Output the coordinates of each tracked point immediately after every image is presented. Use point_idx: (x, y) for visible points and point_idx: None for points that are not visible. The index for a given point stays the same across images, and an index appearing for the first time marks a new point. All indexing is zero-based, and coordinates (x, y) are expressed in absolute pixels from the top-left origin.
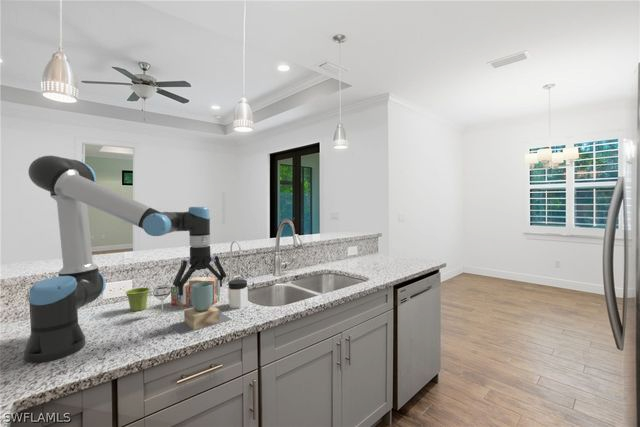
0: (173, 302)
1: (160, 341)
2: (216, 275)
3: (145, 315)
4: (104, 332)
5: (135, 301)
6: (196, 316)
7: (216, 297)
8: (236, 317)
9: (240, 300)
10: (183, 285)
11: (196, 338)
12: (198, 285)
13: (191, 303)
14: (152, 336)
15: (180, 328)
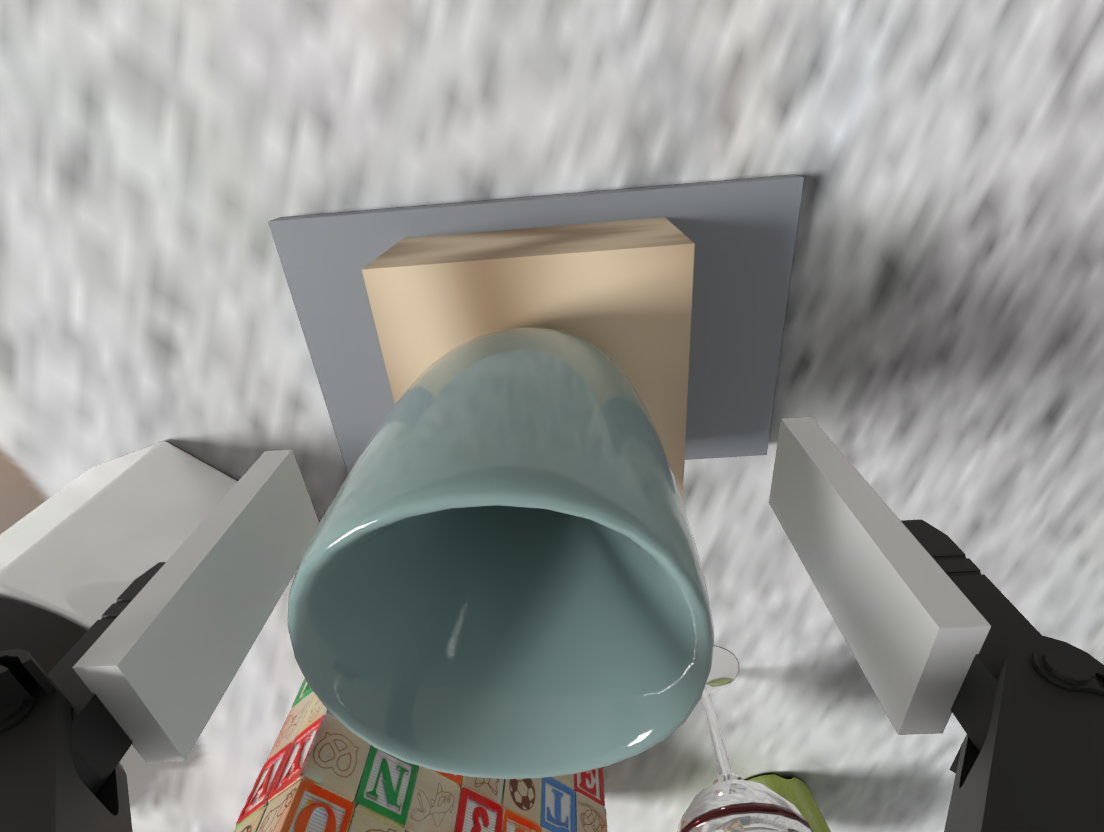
0: (592, 775)
1: (946, 216)
2: (44, 821)
3: (781, 706)
4: (1069, 609)
5: None
6: (657, 245)
7: None
8: (226, 303)
9: (100, 494)
10: (1013, 670)
11: (698, 39)
12: (534, 716)
13: None
14: (929, 363)
15: (740, 331)
